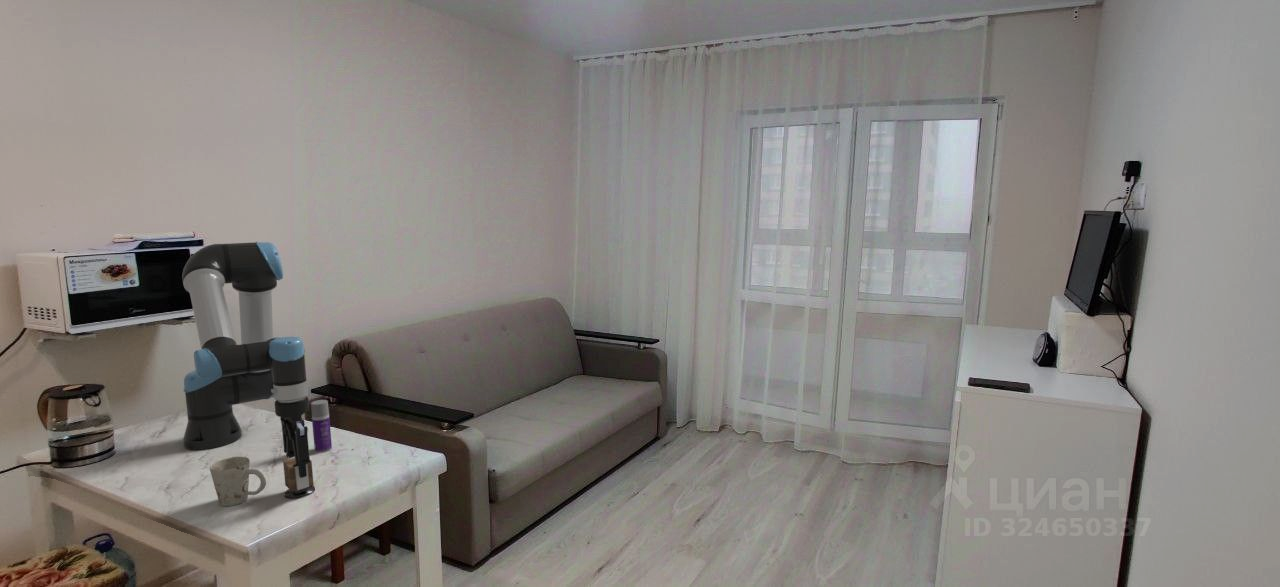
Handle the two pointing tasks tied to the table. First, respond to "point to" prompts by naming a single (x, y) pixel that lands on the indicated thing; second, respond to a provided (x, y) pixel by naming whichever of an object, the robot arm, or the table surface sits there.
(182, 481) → the table surface
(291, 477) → the brown shipping carton
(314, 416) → the container
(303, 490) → the post
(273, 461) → the table surface
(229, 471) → the mug
